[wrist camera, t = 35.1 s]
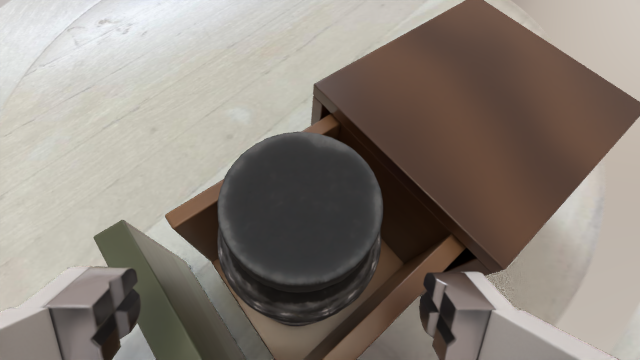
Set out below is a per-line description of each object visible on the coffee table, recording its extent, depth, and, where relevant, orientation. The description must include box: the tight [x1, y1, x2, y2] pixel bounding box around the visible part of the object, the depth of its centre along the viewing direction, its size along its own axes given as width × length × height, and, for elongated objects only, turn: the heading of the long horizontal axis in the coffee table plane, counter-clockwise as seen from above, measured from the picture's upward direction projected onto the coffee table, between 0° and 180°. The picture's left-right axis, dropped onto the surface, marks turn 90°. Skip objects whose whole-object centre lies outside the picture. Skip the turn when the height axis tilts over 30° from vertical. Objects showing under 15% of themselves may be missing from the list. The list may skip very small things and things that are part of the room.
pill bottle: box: [217, 132, 383, 326], centre depth 13 cm, size 6×6×11 cm
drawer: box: [94, 113, 466, 360], centre depth 15 cm, size 17×10×8 cm, turn 129°
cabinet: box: [311, 0, 640, 296], centre depth 20 cm, size 14×12×10 cm
